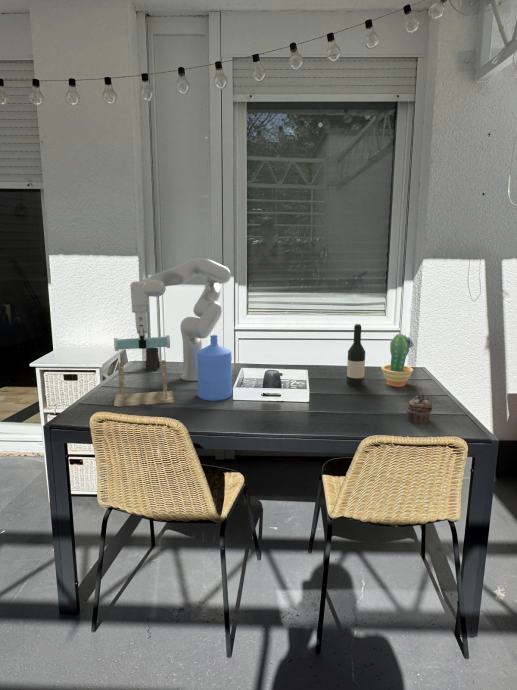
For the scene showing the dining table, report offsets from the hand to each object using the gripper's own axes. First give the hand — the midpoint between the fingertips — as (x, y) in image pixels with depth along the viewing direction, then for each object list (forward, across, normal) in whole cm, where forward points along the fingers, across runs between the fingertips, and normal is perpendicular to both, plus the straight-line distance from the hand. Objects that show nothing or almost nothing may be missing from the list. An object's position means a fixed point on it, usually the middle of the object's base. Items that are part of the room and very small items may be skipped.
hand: (142, 347), depth 229 cm
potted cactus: (+22, -18, -121) cm, 124 cm away
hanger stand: (+20, -16, 0) cm, 26 cm away
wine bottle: (+22, -14, -101) cm, 104 cm away
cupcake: (+22, -64, -106) cm, 126 cm away
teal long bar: (+1, 0, 0) cm, 1 cm away
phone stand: (+21, +36, -4) cm, 42 cm away
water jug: (+21, -17, -31) cm, 41 cm away
